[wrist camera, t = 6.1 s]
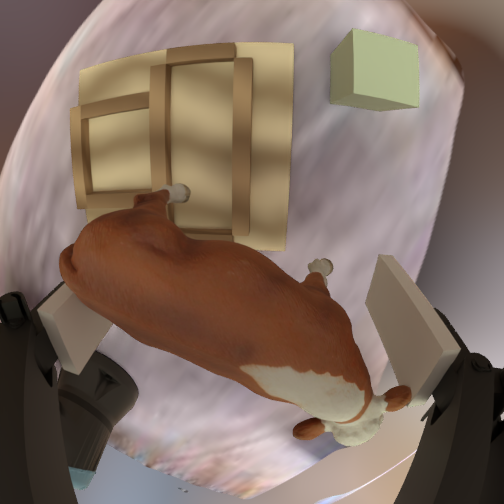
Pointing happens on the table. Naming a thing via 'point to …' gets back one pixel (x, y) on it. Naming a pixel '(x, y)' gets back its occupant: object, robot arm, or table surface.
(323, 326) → the bull figurine
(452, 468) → the robot arm
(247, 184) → the beech board
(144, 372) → the table surface
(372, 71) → the sage-green tail block
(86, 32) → the table surface
